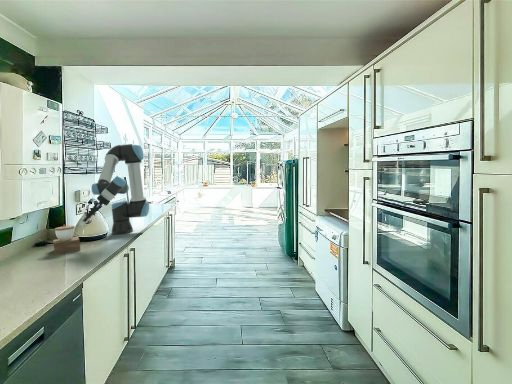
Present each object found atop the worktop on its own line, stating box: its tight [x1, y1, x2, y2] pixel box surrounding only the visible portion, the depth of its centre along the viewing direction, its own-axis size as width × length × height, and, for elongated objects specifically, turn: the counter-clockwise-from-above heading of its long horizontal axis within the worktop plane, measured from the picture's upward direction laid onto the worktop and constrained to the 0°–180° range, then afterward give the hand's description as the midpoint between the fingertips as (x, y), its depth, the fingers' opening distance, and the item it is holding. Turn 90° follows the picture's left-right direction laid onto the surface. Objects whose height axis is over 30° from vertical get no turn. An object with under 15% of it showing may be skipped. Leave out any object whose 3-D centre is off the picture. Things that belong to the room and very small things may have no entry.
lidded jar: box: [54, 224, 75, 241], centre depth 243 cm, size 11×11×9 cm
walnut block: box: [52, 236, 81, 255], centre depth 244 cm, size 14×14×7 cm
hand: (82, 223), depth 245 cm, fingers open, 13 cm apart
